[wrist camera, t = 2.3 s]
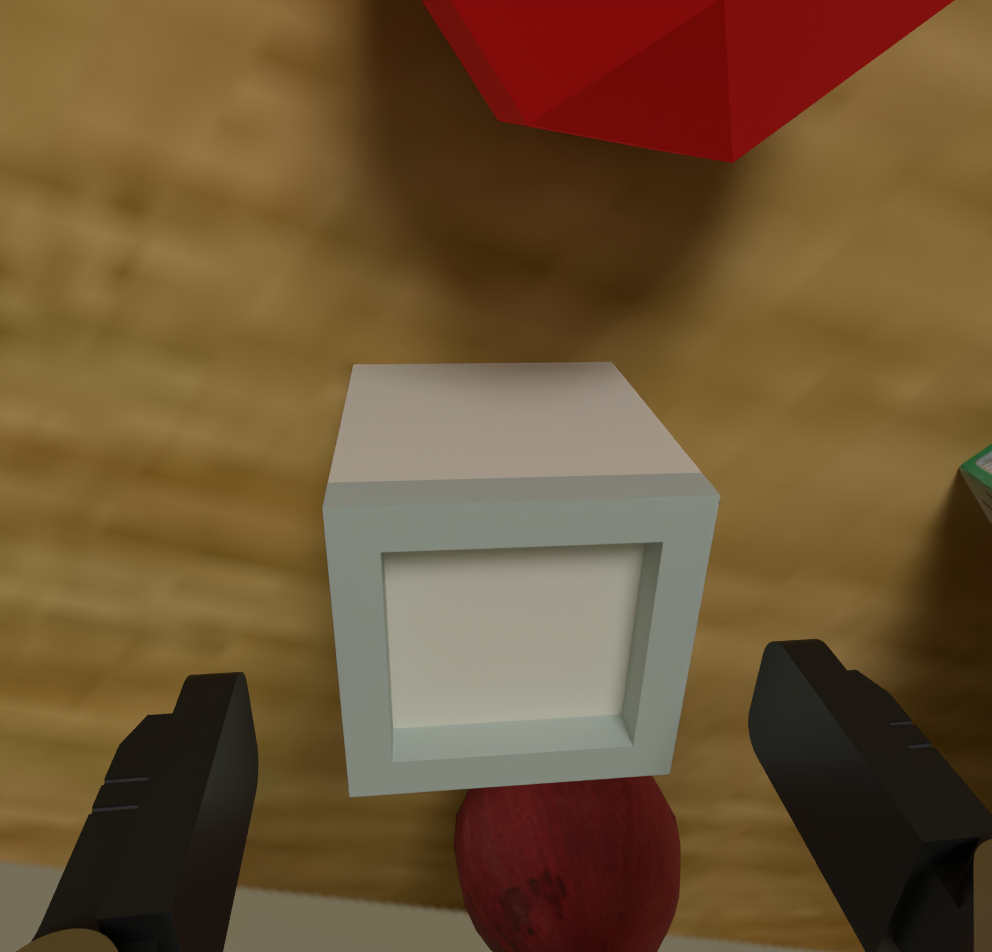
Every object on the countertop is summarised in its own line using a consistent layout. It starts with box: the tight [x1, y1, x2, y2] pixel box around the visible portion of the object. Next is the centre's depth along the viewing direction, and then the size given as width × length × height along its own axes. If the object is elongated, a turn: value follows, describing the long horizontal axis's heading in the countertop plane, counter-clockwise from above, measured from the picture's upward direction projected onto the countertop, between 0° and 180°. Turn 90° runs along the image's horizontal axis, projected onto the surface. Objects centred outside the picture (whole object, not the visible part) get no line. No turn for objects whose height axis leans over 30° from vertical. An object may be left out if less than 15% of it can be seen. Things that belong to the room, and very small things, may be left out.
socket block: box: [323, 362, 720, 797], centre depth 15 cm, size 6×6×7 cm
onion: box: [454, 775, 680, 952], centre depth 19 cm, size 6×6×8 cm
